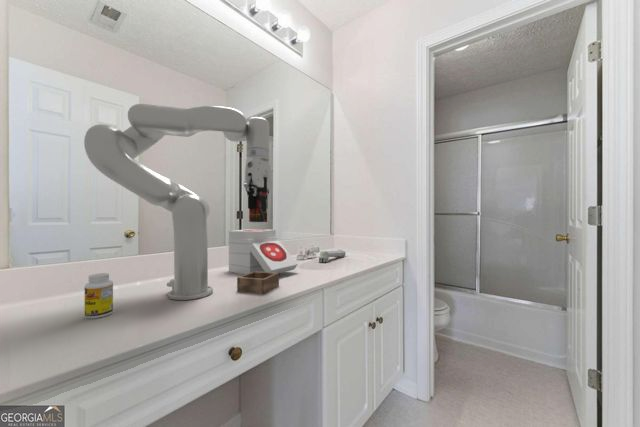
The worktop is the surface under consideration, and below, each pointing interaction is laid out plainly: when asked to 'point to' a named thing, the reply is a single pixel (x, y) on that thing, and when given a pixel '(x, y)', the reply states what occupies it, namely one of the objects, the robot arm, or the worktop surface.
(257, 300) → the worktop surface
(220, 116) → the robot arm
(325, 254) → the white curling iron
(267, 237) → the white stacked boxes
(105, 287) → the supplement bottle
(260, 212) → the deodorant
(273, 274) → the holder
